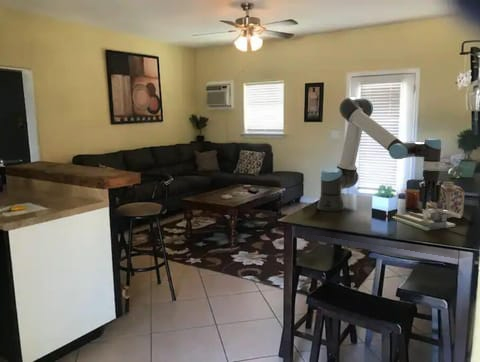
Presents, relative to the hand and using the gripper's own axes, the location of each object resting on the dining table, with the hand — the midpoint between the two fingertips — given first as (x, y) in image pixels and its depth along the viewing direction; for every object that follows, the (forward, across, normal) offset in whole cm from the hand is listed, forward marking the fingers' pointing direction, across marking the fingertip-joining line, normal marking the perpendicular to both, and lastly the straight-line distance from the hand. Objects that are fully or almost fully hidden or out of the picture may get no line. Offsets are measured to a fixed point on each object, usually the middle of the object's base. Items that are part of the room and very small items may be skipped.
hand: (428, 214), depth 197 cm
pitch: (+3, -5, -1) cm, 6 cm away
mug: (+3, +13, +24) cm, 28 cm away
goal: (+3, -7, -9) cm, 12 cm away
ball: (+2, -7, -9) cm, 11 cm away
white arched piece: (+2, -3, -8) cm, 9 cm away
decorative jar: (+4, +19, +6) cm, 20 cm away
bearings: (+3, 0, -6) cm, 7 cm away
